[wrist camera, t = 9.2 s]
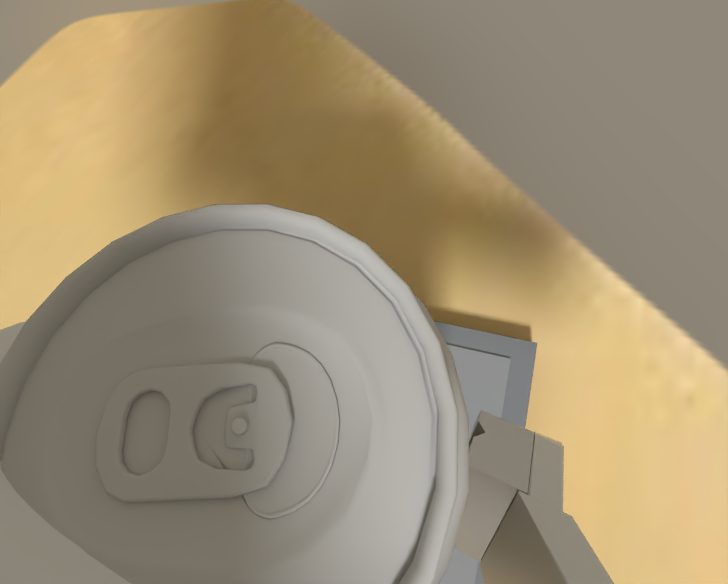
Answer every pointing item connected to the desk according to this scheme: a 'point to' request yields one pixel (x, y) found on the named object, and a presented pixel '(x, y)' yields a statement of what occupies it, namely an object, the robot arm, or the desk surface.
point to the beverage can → (240, 408)
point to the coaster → (487, 399)
